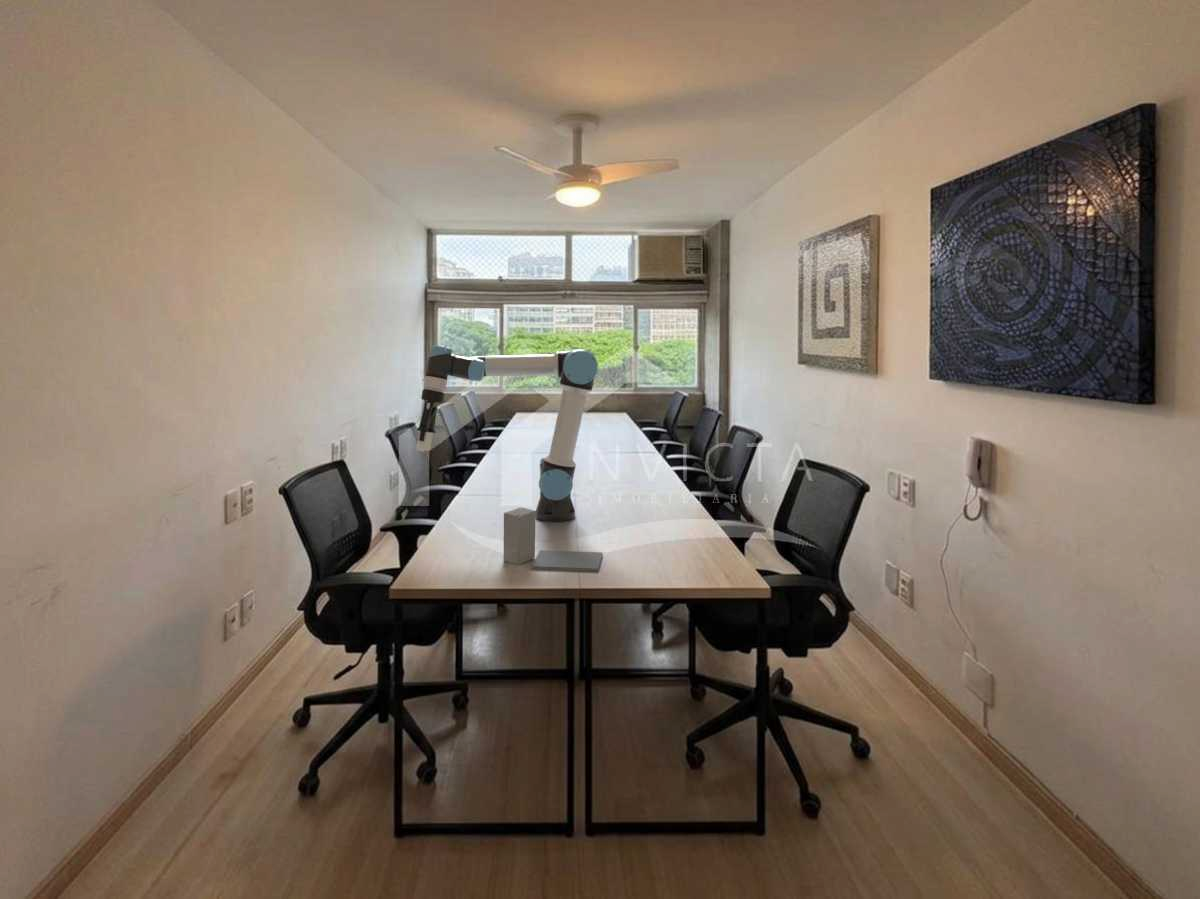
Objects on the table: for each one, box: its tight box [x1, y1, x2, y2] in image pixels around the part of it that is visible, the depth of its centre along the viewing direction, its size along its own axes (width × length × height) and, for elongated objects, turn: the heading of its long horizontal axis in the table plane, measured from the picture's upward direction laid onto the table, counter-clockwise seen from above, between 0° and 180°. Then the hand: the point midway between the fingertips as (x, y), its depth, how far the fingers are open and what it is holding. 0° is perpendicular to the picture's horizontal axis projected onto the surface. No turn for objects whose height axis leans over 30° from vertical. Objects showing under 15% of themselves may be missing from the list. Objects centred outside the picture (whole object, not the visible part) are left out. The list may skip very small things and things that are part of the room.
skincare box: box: [503, 506, 537, 566], centre depth 221 cm, size 8×7×16 cm
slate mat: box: [530, 549, 603, 573], centre depth 221 cm, size 20×16×1 cm
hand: (422, 450), depth 249 cm, fingers open, 13 cm apart
